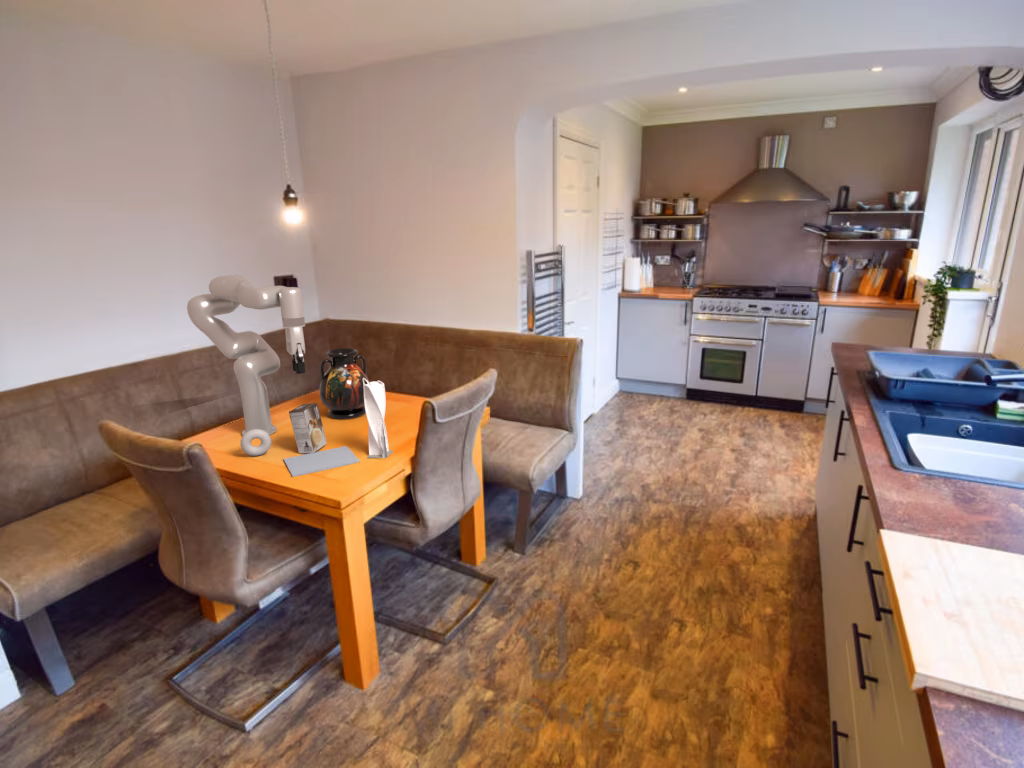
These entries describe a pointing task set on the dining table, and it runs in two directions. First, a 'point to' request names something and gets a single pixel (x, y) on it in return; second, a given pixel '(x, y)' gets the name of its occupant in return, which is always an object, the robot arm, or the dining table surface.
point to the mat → (320, 461)
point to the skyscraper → (376, 419)
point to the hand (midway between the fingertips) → (299, 371)
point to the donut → (254, 450)
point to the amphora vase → (343, 384)
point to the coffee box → (308, 428)
